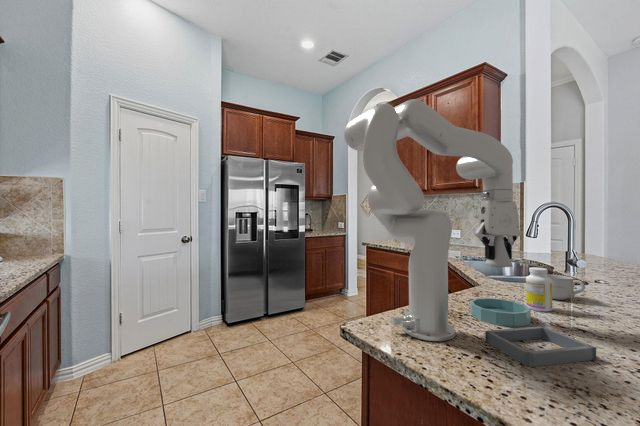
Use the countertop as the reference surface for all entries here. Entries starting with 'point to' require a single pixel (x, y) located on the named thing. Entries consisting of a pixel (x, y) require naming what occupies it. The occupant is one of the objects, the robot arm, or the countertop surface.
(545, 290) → the supplement bottle
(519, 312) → the bowl
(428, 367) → the countertop surface
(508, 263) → the flask
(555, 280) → the teacup
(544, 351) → the parts tray
